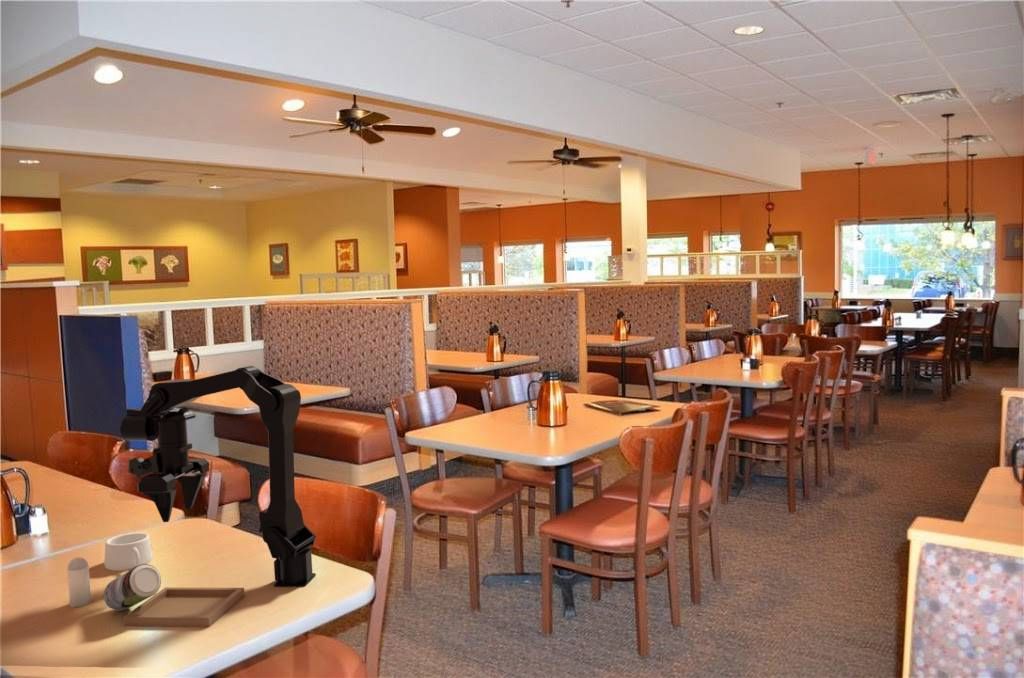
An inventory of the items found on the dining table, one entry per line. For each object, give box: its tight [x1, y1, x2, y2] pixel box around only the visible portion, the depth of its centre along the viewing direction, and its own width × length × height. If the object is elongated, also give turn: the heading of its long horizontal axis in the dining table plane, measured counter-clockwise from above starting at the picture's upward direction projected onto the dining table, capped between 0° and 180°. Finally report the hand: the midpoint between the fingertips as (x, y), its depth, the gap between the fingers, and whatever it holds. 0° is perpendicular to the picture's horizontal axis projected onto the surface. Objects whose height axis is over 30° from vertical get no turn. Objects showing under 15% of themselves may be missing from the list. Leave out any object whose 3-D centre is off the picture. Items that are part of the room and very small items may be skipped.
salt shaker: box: [67, 556, 92, 608], centre depth 154 cm, size 4×4×9 cm
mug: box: [103, 532, 154, 572], centre depth 175 cm, size 12×10×6 cm
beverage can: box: [103, 563, 162, 612], centre depth 148 cm, size 6×7×12 cm
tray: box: [122, 586, 246, 628], centre depth 149 cm, size 16×14×2 cm
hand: (177, 515), depth 168 cm, fingers open, 9 cm apart
